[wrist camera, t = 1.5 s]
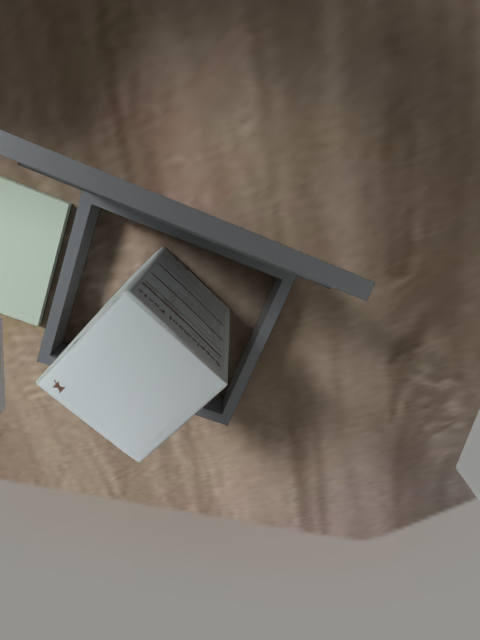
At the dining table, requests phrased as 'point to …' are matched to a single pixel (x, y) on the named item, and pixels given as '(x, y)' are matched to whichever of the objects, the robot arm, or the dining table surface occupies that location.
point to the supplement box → (145, 358)
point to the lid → (180, 216)
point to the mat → (28, 248)
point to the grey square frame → (88, 216)
